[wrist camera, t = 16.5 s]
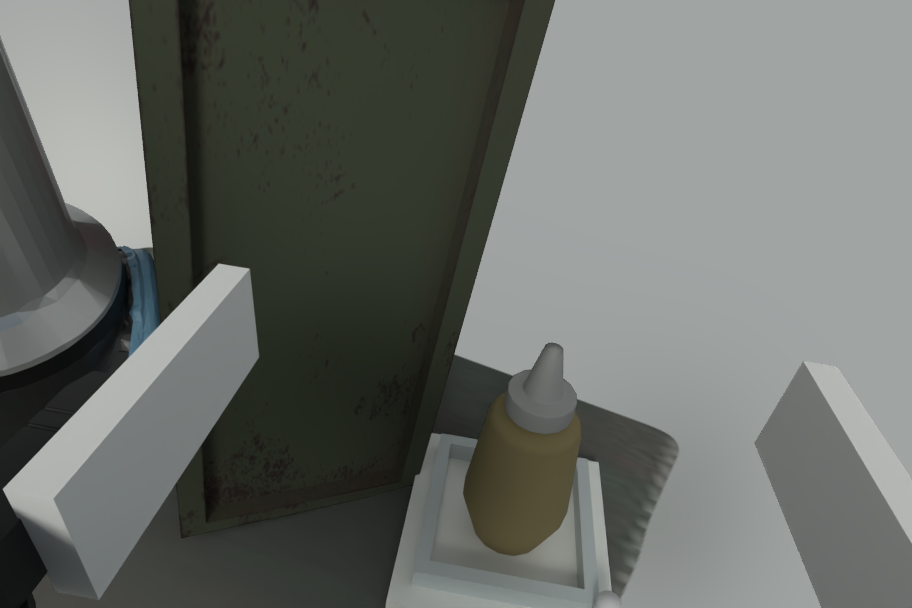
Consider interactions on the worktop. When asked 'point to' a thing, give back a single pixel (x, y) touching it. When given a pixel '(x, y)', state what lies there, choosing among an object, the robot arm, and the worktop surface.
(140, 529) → the robot arm
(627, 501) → the worktop surface
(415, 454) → the first aid box
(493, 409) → the squeeze bottle
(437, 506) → the holder plate
